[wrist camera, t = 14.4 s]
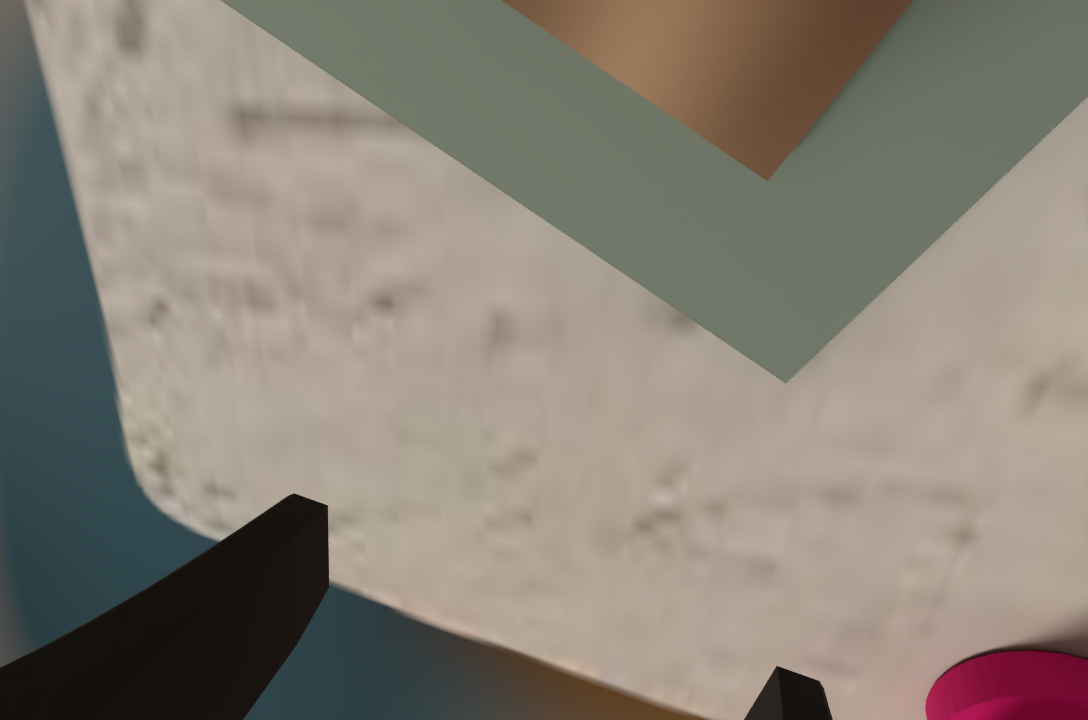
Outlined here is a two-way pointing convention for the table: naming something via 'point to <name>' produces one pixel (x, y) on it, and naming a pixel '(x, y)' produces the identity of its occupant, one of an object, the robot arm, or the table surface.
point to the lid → (727, 60)
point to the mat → (705, 170)
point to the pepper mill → (1012, 688)
